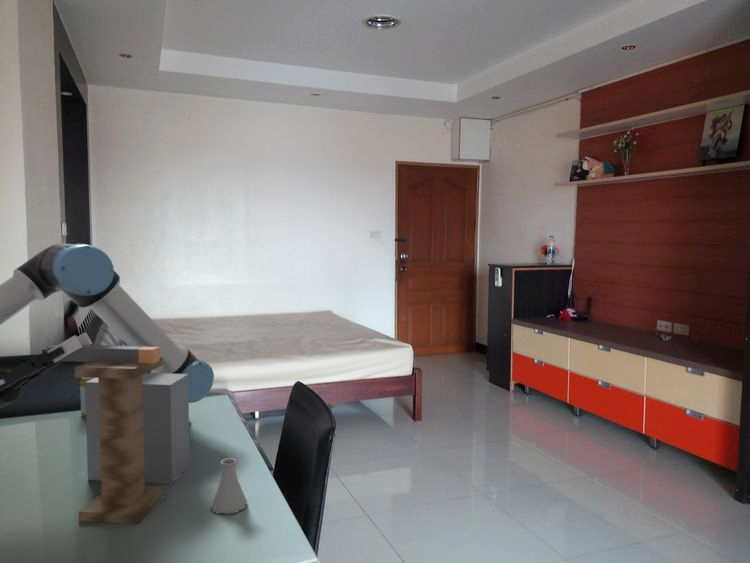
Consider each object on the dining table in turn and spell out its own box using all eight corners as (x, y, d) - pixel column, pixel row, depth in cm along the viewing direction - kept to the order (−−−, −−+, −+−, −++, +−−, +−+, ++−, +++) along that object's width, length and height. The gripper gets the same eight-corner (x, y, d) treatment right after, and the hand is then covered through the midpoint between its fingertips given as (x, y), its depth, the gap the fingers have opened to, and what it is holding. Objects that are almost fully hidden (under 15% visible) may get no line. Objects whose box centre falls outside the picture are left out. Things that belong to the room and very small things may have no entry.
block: (87, 480, 129) (85, 382, 127) (111, 462, 138) (108, 371, 137) (172, 483, 127) (170, 384, 125) (189, 465, 137) (188, 374, 135)
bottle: (95, 418, 171) (94, 370, 170) (76, 416, 173) (74, 369, 172) (110, 411, 178) (109, 365, 177) (91, 410, 180) (90, 364, 178)
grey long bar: (40, 360, 113) (39, 346, 113) (48, 357, 116) (48, 344, 115) (153, 363, 111) (152, 349, 111) (159, 360, 114) (159, 346, 114)
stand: (78, 521, 110) (74, 367, 108) (111, 493, 122) (108, 354, 120) (137, 523, 109) (134, 368, 107) (164, 495, 121) (162, 355, 119)
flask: (253, 502, 119) (253, 457, 118) (233, 518, 112) (233, 470, 111) (224, 496, 121) (224, 452, 120) (203, 512, 114) (203, 465, 114)
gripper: (26, 398, 124) (113, 348, 121) (-31, 421, 108) (68, 364, 106) (8, 368, 123) (95, 318, 121) (-51, 387, 108) (48, 330, 105)
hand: (83, 340), depth 113 cm, fingers closed on grey long bar, 3 cm apart
